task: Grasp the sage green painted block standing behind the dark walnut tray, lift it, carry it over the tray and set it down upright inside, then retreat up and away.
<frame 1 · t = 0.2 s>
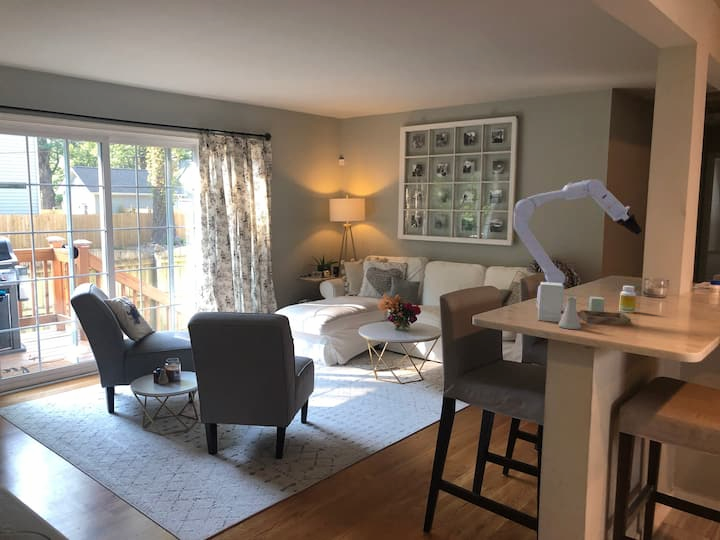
hand: (637, 231, 207), 31 cm above the worktop, tool tilted 45°, fingers open, 7 cm apart
supplement bottle: (626, 312, 217), on the worktop
supplement box: (548, 320, 197), on the worktop
sage block: (595, 313, 210), on the worktop
flask: (569, 328, 185), on the worktop
tray: (604, 320, 197), on the worktop
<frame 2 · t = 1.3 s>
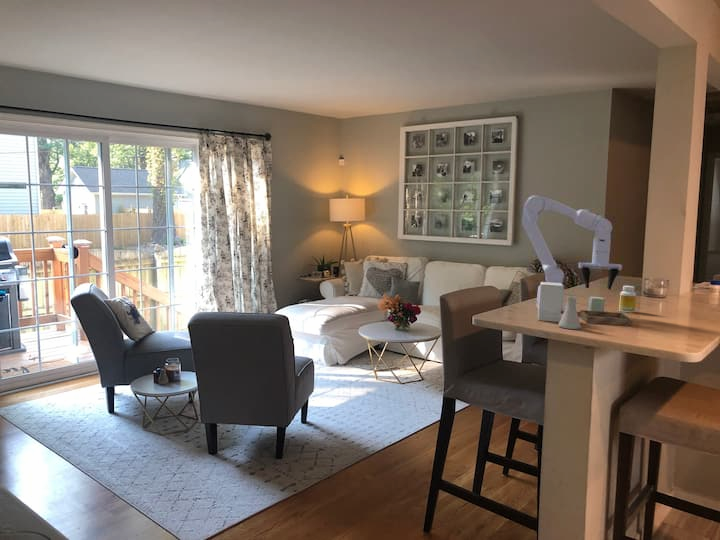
hand: (598, 288, 209), 9 cm above the worktop, tool pointing down, fingers open, 7 cm apart
nothing on the worktop moved.
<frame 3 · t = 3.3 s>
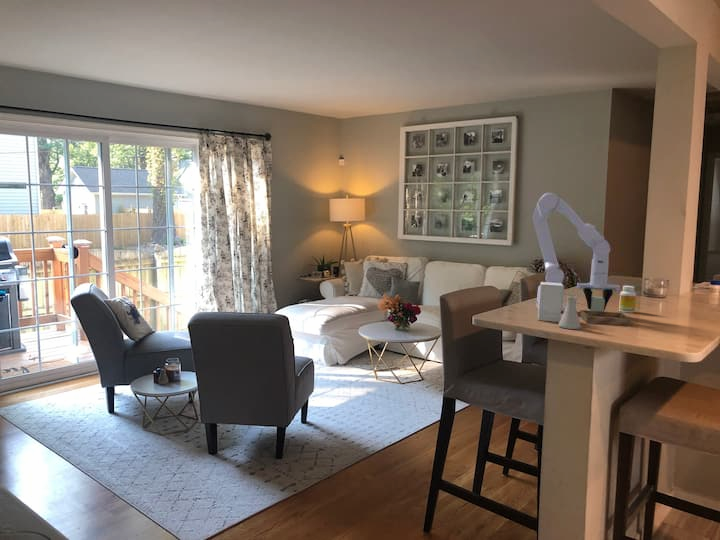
hand: (596, 309, 210), 2 cm above the worktop, tool pointing down, fingers closed on sage block, 4 cm apart
sage block: (595, 313, 210), on the worktop, touching gripper
everything else where it was.
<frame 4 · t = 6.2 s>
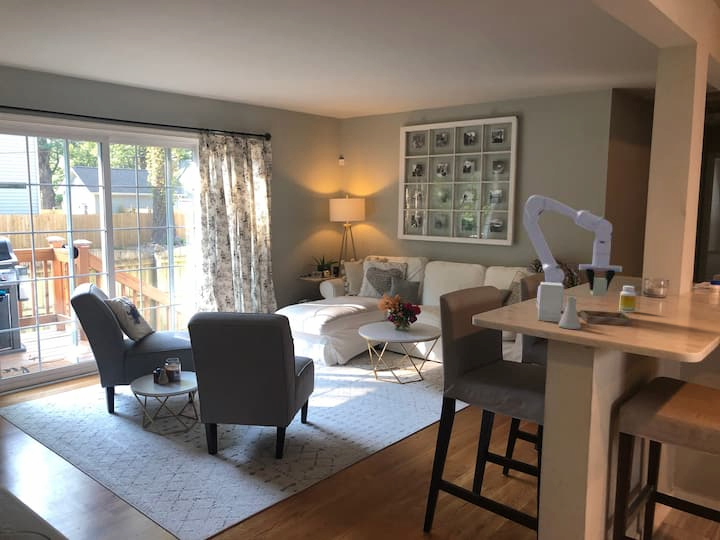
hand: (598, 290, 208), 9 cm above the worktop, tool pointing down, fingers closed on sage block, 4 cm apart
sage block: (598, 294, 208), point 7 cm above the worktop, touching gripper
everything else where it was.
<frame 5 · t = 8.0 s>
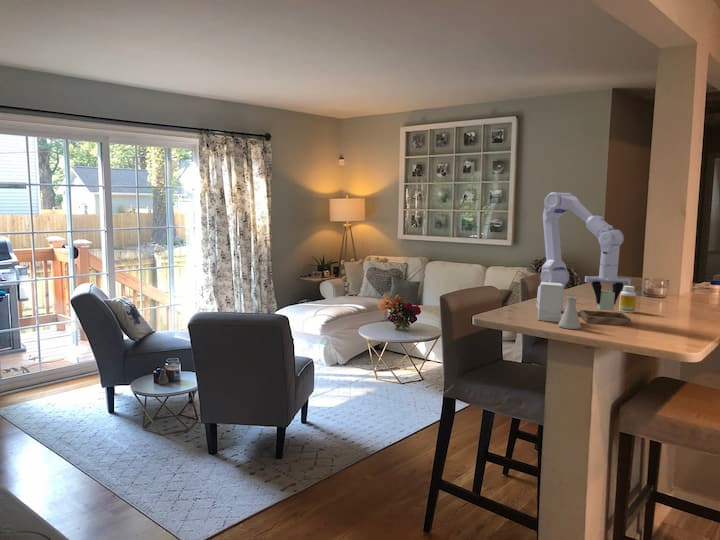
hand: (605, 303, 197), 6 cm above the worktop, tool pointing down, fingers closed on sage block, 4 cm apart
sage block: (605, 308, 197), point 4 cm above the worktop, touching gripper
everything else where it was.
when the fingers open (4 cm above the worktop, at t = 9.4 s): sage block drops 1 cm, resting on tray.
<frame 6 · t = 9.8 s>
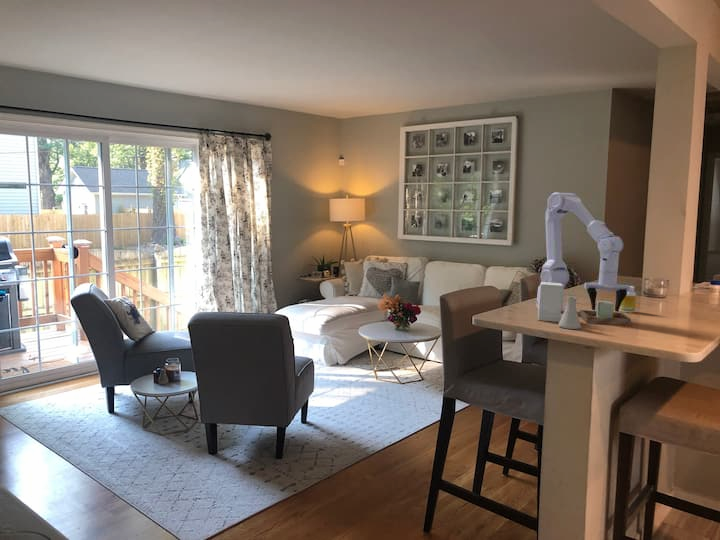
hand: (605, 310, 197), 4 cm above the worktop, tool pointing down, fingers open, 7 cm apart
sage block: (604, 319, 197), resting on tray
everything else where it was.
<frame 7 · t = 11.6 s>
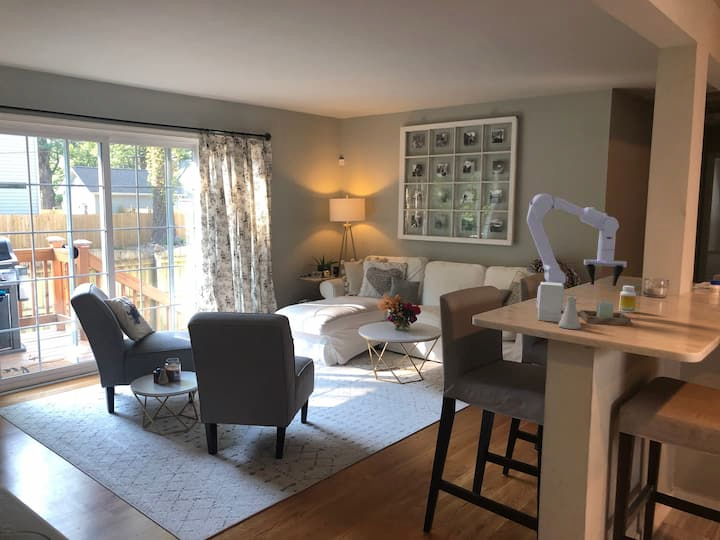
hand: (603, 285, 212), 10 cm above the worktop, tool pointing down, fingers open, 7 cm apart
nothing on the worktop moved.
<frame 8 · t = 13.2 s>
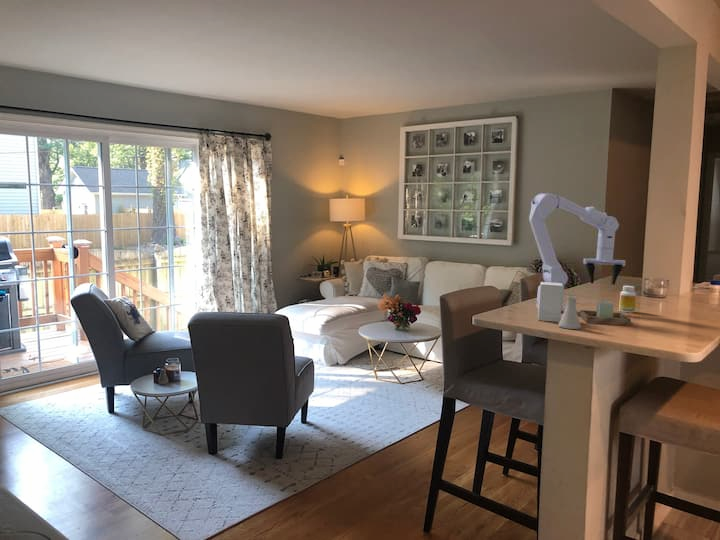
hand: (602, 283, 215), 10 cm above the worktop, tool pointing down, fingers open, 7 cm apart
nothing on the worktop moved.
at the end: sage block inside the target area on the tray (0.0 cm from its centre), point 0.5 cm above the tray's base; sage block tilted 0°; the gripper is holding nothing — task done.
